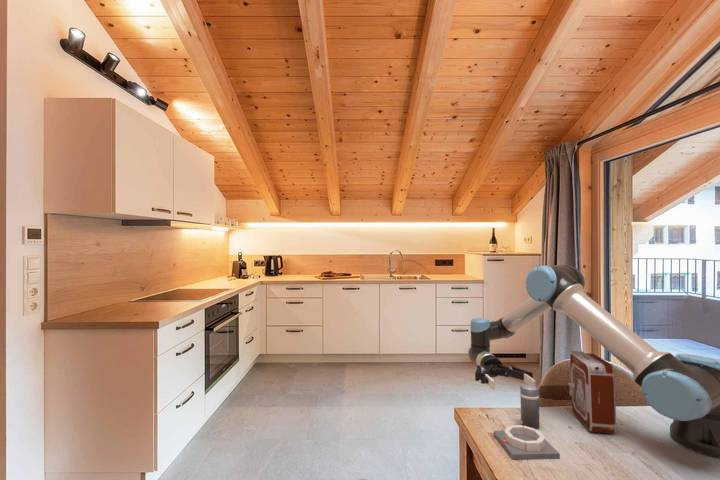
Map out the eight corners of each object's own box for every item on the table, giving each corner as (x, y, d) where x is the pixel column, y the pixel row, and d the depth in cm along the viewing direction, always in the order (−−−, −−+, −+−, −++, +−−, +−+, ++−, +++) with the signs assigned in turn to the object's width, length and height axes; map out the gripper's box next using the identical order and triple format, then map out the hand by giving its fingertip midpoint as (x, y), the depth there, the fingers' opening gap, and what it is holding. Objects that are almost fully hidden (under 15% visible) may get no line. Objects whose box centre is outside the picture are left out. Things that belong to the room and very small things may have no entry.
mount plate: (535, 434, 101) (535, 422, 101) (559, 458, 89) (559, 445, 89) (493, 435, 101) (493, 423, 101) (512, 459, 89) (512, 446, 89)
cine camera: (592, 407, 118) (589, 346, 119) (622, 437, 99) (619, 364, 100) (561, 405, 120) (560, 345, 121) (586, 434, 101) (583, 363, 102)
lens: (534, 421, 109) (533, 384, 109) (543, 429, 104) (542, 390, 104) (517, 421, 109) (516, 384, 109) (525, 430, 104) (524, 390, 104)
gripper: (521, 373, 138) (551, 396, 117) (457, 374, 138) (476, 397, 116) (520, 354, 138) (551, 373, 117) (457, 354, 138) (476, 373, 117)
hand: (514, 385), depth 117 cm, fingers open, 13 cm apart
